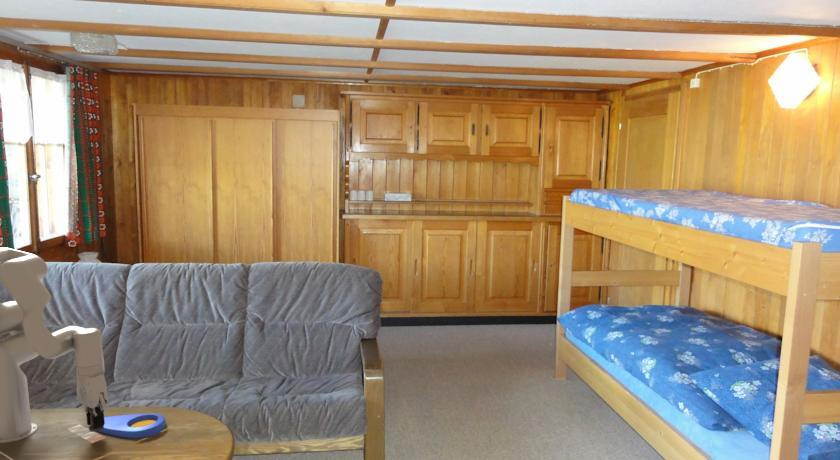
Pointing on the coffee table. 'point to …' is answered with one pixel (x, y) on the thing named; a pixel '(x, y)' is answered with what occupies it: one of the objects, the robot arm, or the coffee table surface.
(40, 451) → the coffee table surface
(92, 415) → the pawn
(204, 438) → the coffee table surface
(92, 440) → the board
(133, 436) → the location marker
